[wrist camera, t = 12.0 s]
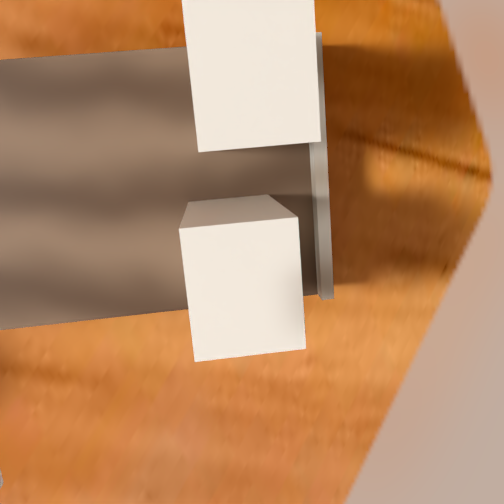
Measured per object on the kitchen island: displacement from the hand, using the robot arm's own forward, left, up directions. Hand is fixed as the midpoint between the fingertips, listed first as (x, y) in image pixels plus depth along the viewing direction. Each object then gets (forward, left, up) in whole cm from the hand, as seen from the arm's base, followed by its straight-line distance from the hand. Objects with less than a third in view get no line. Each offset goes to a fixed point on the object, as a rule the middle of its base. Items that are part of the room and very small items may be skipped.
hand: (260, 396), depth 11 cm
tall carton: (0, 0, -19) cm, 19 cm away
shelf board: (-4, -5, -21) cm, 22 cm away
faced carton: (-9, +1, -19) cm, 21 cm away
